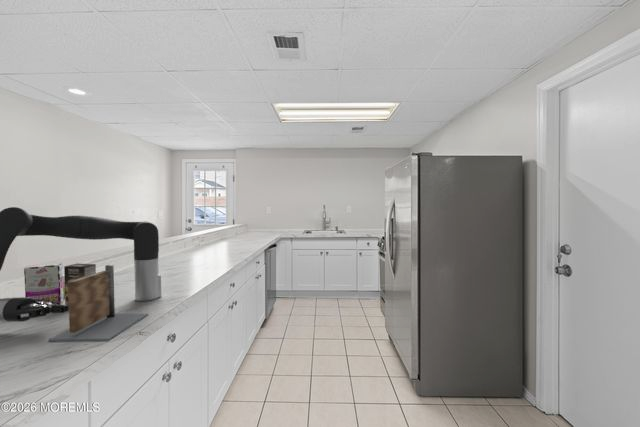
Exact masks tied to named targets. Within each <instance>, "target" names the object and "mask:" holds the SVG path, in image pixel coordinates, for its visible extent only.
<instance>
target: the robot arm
mask: <svg viewBox="0 0 640 427" xmlns="http://www.w3.org/2000/svg"><path fill="white" fill-rule="evenodd" d="M159 235H160V234H159V229H158V227H157V225H155V224H154V223H153V222H150V221H121V220H115V219H111V218H104V217H99V216H88V215H87V216H86V215H66V216H65V215H64V216H56V217H55V216H53V217H52V216H42V215H35V214H31V213H30V214H29V212H28V211H26V210H25V209H23V208H22V207H21V208H20V207H14V206H13V207H11V206H10V207H7V208H6V207H5V208H4V209H2V210H0V271H1V270H2V268H3V265H4V264H5V259H6V257H7V255H8V254H7V253H8V251H9V250H10V247H11V246H12V243H13V242H14V241H15V239H16V238H17V237H23V236H24V237H26V236H30V237H31V236H32V237H33V236H45V237H46V236H47V237H48V236H49V237H50V236H51V237H59V238H65V239H77V240H93V241H94V240H110V239H111V240H112V239H122V240H123V239H124V240H131V241H133V261H134V262H133V263H134V264H133V265H134V300H135V301H137V302H145V301H146V302H147V301H153V300H156V299H159V298H160V297H162V275H161V274H160V272H159V271H160V268H159V266H160V264H159V252H160V251H159V250H160V247H159V246H160V245H159V244H160V243H159V242H160V241H159V239H160V238H159ZM66 312H69V305H65V304H60V302H58V301H57V300H51V301H50V302H42V301H39V302H36V301H35V300H34V299H33V298H30V297H24V296H22V297H4V298H0V323H1V322H2V323H3V322H4V323H7V322H8V323H9V322H11V323H14V322H15V323H16V322H19V323H20V322H27V321H29V320H30V319H33V318H38V317H39V318H40V317H45V316H47V315H52V314H64V313H66Z"/></svg>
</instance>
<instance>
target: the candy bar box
mask: <svg viewBox="0 0 640 427" xmlns="http://www.w3.org/2000/svg"><path fill="white" fill-rule="evenodd" d="M23 273H24V274H23V275H24V292H25V294H24V296H25V297H30V298H33V299H34V300H35V301H36V302H39V301H42V302H50V301H51V300H57V301H58V302H60V305H62V304H63V303H64V302H65V298H63V276H62V275H63V263H49V264H40V265H39V264H38V265H37V264H36V265H28V266H25V267H24V268H23Z"/></svg>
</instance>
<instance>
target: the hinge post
mask: <svg viewBox="0 0 640 427" xmlns="http://www.w3.org/2000/svg"><path fill="white" fill-rule="evenodd" d="M104 268H105V270H104V271H109V274H110V275H109V307H110V315H108V316H107V318H111V317H114V316H115V314H116V313H115V312H116V310H115V304H116V303H115V276H114V275H115V274H114V264H106V265H105V266H104Z"/></svg>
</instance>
